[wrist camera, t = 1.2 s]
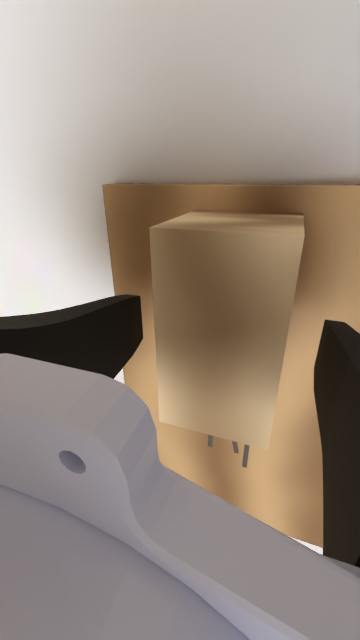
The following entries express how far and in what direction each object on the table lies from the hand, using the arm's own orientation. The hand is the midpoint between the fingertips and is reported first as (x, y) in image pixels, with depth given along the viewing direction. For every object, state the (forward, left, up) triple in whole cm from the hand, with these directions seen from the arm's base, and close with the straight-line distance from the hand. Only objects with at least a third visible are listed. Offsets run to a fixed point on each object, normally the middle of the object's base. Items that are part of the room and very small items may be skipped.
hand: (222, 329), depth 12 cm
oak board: (0, +6, -5) cm, 8 cm away
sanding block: (0, 0, -3) cm, 3 cm away
